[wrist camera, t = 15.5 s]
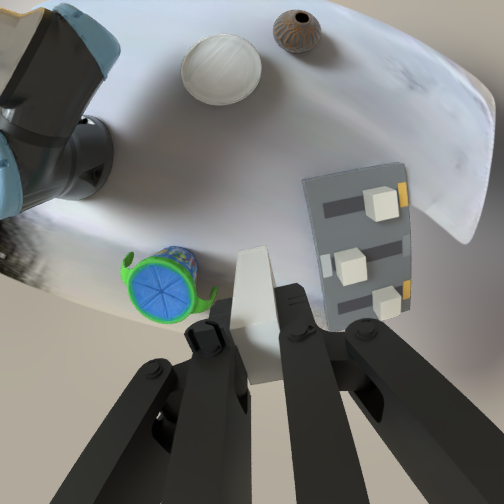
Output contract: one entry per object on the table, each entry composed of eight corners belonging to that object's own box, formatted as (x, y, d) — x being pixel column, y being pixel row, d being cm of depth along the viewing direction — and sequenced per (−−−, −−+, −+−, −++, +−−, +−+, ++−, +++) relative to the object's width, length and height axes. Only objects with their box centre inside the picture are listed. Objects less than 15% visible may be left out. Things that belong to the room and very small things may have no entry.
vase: (262, 35, 34) (264, 12, 26) (295, 16, 32) (303, -9, 24) (291, 65, 36) (300, 47, 27) (324, 44, 34) (339, 24, 26)
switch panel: (327, 325, 52) (329, 333, 50) (301, 180, 42) (304, 182, 40) (404, 303, 50) (410, 310, 48) (397, 162, 41) (404, 163, 38)
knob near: (365, 215, 41) (375, 221, 38) (362, 190, 40) (372, 195, 36) (387, 210, 41) (398, 216, 37) (384, 186, 40) (396, 190, 36)
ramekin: (196, 42, 34) (189, 30, 29) (267, 50, 35) (268, 38, 30) (182, 105, 38) (172, 100, 33) (253, 114, 39) (253, 110, 34)
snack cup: (129, 268, 48) (105, 296, 38) (148, 218, 45) (123, 238, 35) (204, 307, 51) (194, 342, 41) (230, 261, 47) (225, 291, 38)
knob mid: (336, 274, 45) (343, 286, 41) (333, 252, 44) (340, 262, 40) (359, 269, 45) (367, 279, 41) (356, 247, 43) (365, 256, 40)
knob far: (372, 309, 48) (380, 321, 44) (372, 291, 46) (380, 302, 43) (391, 303, 47) (400, 315, 44) (391, 285, 46) (401, 296, 42)
